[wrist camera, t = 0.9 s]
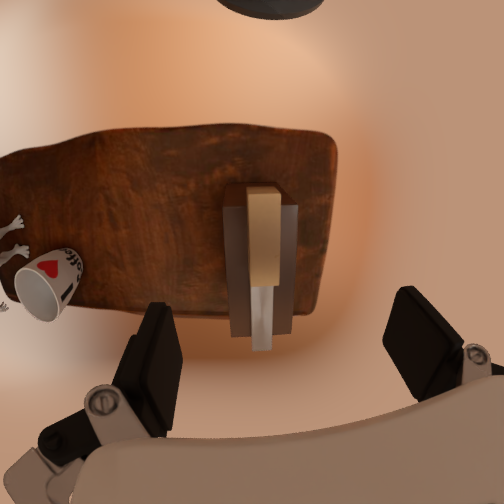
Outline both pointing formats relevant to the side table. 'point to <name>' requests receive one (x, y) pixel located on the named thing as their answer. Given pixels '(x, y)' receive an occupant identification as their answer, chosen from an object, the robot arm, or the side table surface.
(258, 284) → the knife
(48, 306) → the cup
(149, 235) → the side table surface
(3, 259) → the figurine
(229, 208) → the dark rectangular block
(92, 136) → the side table surface
